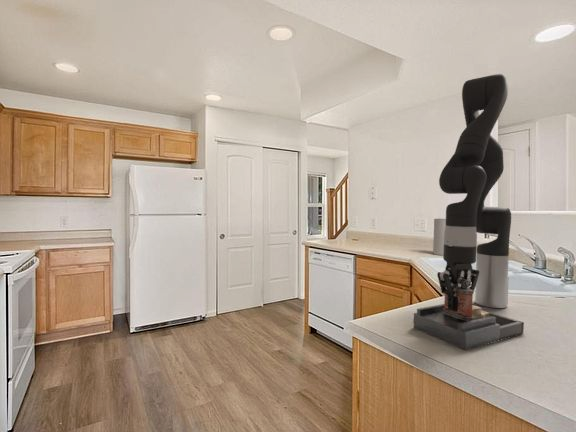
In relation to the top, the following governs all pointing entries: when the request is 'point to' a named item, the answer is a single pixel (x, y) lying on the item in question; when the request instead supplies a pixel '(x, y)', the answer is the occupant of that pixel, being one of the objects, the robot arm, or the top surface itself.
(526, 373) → the top surface
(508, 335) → the tray
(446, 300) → the lighter
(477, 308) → the chip
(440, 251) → the cylinder vase
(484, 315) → the chip
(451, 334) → the slot block
